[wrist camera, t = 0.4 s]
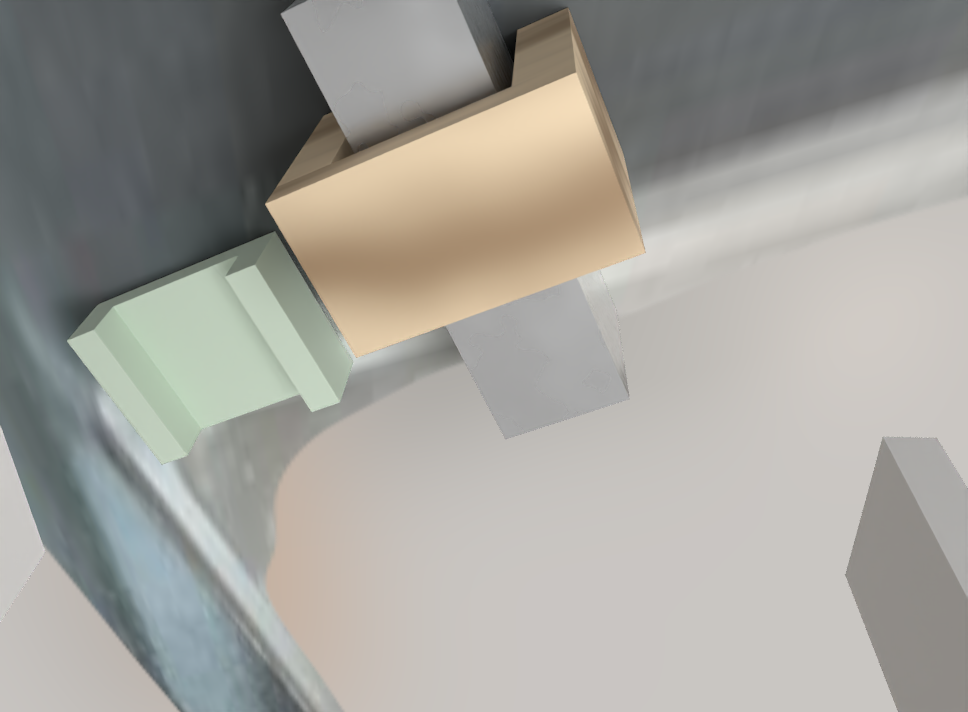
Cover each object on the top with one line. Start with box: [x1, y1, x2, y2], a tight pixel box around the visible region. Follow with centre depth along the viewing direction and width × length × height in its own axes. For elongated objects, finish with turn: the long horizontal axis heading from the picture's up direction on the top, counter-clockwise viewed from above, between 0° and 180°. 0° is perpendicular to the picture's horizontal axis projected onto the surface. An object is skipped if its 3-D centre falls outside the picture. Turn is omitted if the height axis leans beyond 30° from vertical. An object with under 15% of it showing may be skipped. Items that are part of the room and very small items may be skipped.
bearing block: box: [265, 8, 646, 358], centre depth 32 cm, size 6×10×9 cm, turn 114°
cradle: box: [67, 231, 353, 465], centre depth 40 cm, size 7×9×3 cm
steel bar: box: [281, 0, 629, 439], centre depth 34 cm, size 17×5×7 cm, turn 24°
